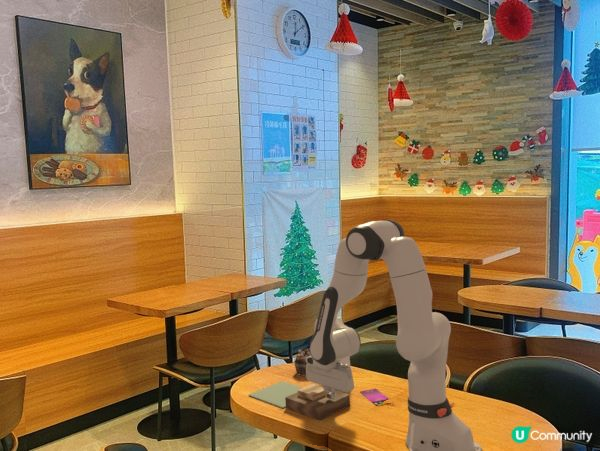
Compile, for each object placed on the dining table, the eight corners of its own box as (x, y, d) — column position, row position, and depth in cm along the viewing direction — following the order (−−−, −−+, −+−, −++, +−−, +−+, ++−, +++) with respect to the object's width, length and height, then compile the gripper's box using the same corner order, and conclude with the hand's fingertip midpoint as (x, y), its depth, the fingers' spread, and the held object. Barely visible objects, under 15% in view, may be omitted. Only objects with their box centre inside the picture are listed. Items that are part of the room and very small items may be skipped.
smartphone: (376, 408, 201) (376, 405, 201) (359, 393, 216) (359, 390, 215) (394, 404, 203) (394, 402, 203) (376, 389, 218) (376, 387, 218)
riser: (350, 405, 204) (349, 394, 203) (319, 420, 193) (318, 409, 192) (316, 394, 216) (315, 384, 215) (286, 408, 205) (285, 397, 204)
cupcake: (292, 370, 244) (290, 348, 244) (313, 367, 247) (311, 345, 246) (298, 377, 235) (297, 354, 235) (320, 374, 238) (318, 351, 237)
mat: (317, 393, 217) (317, 392, 217) (283, 408, 204) (282, 407, 204) (282, 382, 231) (282, 381, 231) (248, 395, 219) (248, 394, 219)
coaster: (328, 393, 205) (328, 388, 205) (313, 400, 200) (313, 395, 200) (313, 388, 211) (312, 383, 211) (297, 395, 205) (297, 390, 205)
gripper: (356, 363, 193) (358, 402, 194) (314, 352, 207) (316, 389, 208) (344, 368, 188) (346, 408, 189) (302, 357, 203) (304, 394, 204)
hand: (330, 398), depth 199 cm, fingers closed
